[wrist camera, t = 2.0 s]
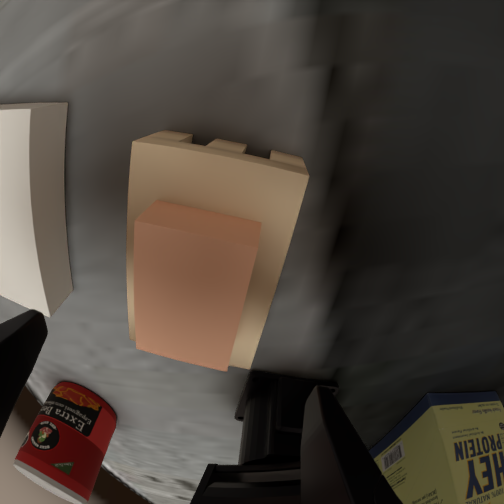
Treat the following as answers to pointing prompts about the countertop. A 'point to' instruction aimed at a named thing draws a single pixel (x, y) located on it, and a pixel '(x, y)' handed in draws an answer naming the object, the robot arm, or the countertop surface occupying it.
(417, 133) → the countertop surface
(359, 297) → the countertop surface
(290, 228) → the pallet
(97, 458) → the canned food
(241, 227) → the block
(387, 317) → the countertop surface
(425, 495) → the protein box
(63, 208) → the white flat block
